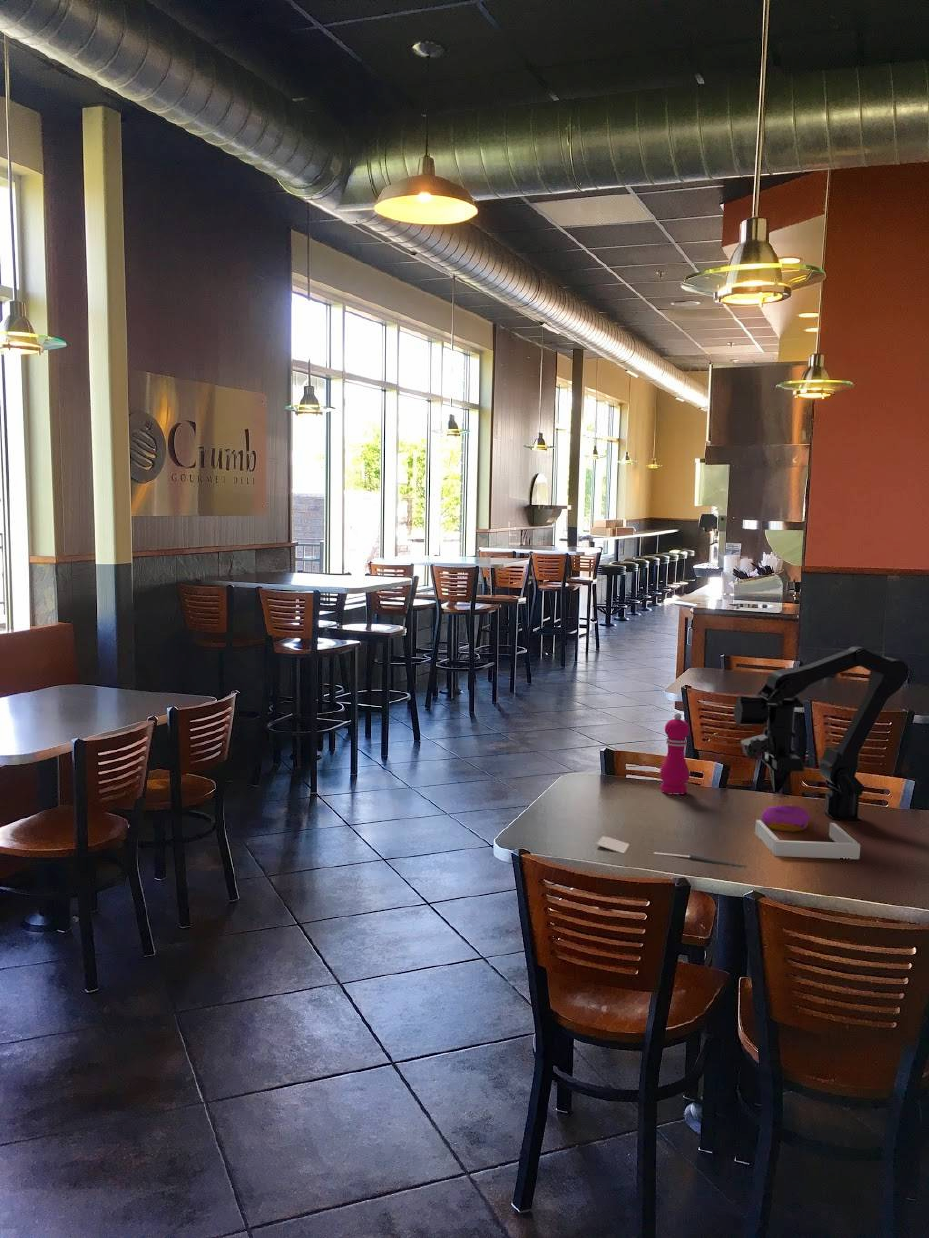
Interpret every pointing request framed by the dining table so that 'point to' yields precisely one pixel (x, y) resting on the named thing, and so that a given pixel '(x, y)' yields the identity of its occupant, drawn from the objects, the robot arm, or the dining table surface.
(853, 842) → the tray
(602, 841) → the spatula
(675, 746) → the pepper mill
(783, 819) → the donut
